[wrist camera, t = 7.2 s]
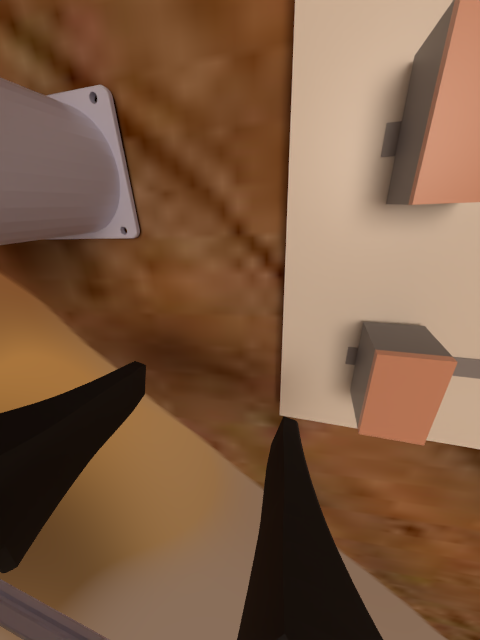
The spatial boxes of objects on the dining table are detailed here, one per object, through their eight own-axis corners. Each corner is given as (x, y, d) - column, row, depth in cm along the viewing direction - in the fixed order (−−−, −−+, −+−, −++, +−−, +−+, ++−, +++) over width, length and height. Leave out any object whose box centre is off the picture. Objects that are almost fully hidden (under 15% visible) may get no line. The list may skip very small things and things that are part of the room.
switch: (349, 390, 16) (358, 434, 13) (363, 321, 14) (377, 354, 11) (401, 397, 15) (424, 445, 12) (424, 325, 13) (457, 362, 10)
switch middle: (385, 204, 11) (412, 204, 8) (414, 55, 9) (463, -15, 6) (463, 200, 10) (523, 200, 8) (514, 38, 8) (625, -52, 5)
